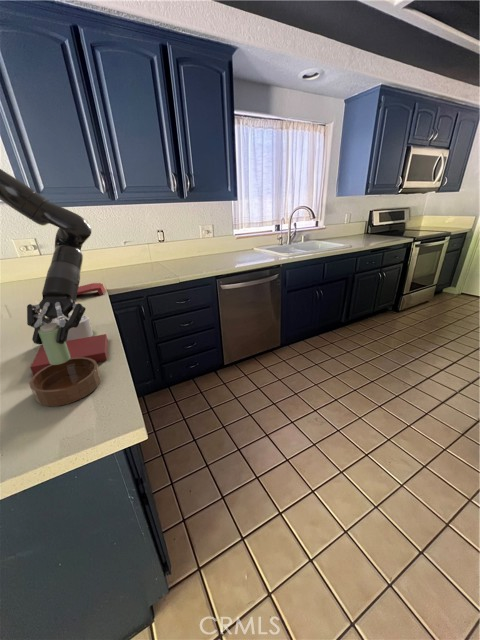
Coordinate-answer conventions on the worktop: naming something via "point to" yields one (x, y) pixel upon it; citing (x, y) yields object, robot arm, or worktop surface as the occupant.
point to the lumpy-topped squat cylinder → (78, 329)
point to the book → (76, 351)
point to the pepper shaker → (53, 344)
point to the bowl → (65, 381)
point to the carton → (91, 288)
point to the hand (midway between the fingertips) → (48, 343)
